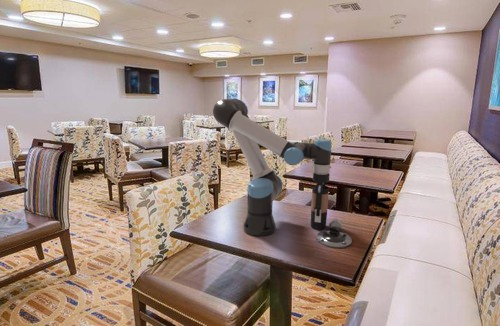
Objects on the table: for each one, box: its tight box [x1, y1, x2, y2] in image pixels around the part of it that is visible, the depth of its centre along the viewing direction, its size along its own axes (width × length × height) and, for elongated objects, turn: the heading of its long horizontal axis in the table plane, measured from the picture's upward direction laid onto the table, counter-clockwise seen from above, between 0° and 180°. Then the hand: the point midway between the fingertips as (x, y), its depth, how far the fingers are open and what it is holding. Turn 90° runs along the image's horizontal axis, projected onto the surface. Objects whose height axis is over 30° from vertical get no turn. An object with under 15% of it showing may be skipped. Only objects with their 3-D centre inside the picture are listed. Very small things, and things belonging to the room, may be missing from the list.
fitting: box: [316, 218, 353, 249], centre depth 142 cm, size 15×22×6 cm
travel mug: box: [310, 185, 330, 231], centre depth 151 cm, size 8×8×20 cm
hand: (318, 218), depth 152 cm, fingers open, 9 cm apart
